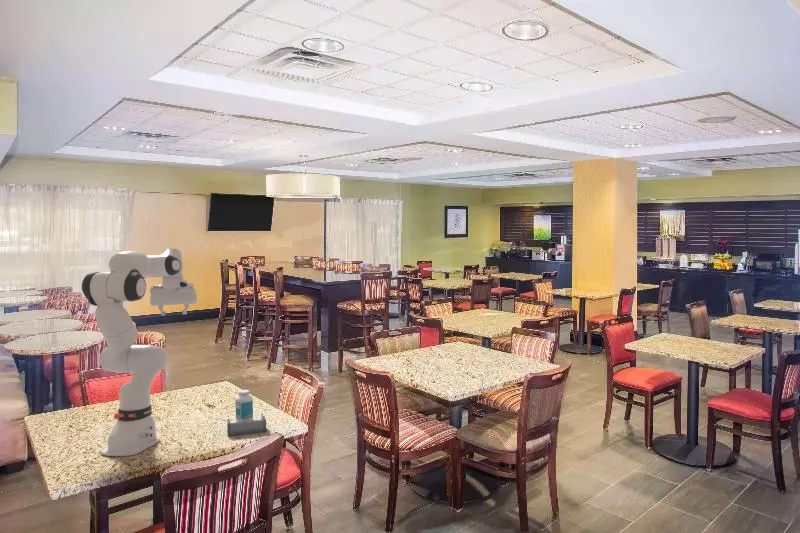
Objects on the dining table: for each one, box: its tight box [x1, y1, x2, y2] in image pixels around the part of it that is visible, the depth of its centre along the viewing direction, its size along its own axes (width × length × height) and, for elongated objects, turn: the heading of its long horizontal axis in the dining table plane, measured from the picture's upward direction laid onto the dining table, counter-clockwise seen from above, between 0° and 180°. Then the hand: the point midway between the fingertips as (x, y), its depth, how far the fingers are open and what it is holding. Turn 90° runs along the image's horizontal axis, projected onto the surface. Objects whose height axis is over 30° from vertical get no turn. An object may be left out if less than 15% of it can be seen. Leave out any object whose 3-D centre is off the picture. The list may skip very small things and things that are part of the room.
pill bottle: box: [234, 389, 254, 422], centre depth 249 cm, size 8×7×14 cm
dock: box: [226, 415, 267, 437], centre depth 235 cm, size 7×15×5 cm, turn 109°
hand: (174, 314), depth 254 cm, fingers open, 8 cm apart
